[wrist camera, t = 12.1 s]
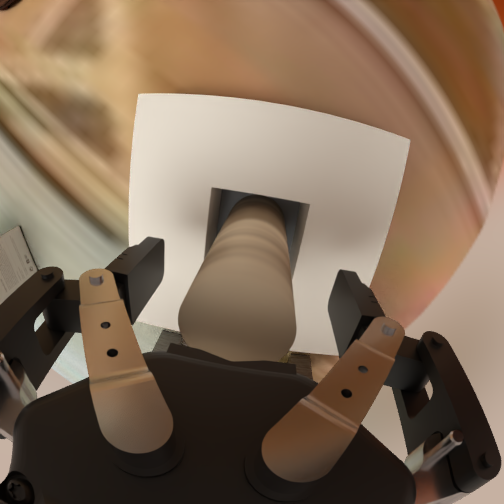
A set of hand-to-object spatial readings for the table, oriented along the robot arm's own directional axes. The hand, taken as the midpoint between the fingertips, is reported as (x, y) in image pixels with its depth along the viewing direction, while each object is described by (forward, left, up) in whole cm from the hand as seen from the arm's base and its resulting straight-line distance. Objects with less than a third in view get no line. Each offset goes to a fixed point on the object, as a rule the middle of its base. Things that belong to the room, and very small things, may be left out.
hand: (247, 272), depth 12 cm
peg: (0, 0, -8) cm, 8 cm away
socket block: (0, 0, -9) cm, 9 cm away
